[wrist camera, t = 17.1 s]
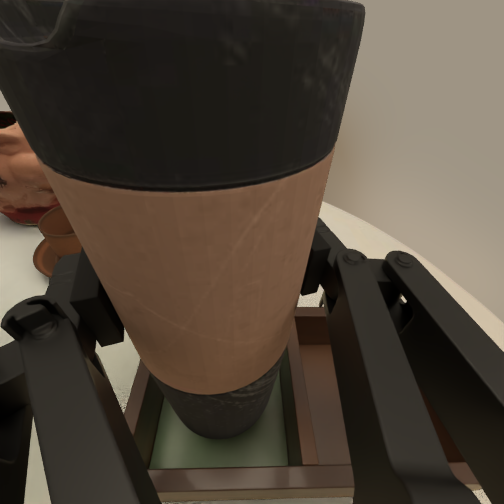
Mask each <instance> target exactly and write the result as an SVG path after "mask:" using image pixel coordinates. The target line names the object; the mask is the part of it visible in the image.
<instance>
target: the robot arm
mask: <svg viewBox="0 0 504 504" xmlns="http://www.w3.org/2000/svg"><path fill="white" fill-rule="evenodd" d="M51 276H52V277H51V278H50V281H49V286H48V288H47V291H46V294H45V295H42V296H34V297H31V298H28V299H25V300H23V301H21V302H20V303H18V304H16V305H15V306H14V307H12V308H11V309H10V310H9V311H8V312H7V313H6V314H5V316H4V317H3V319H2V322H1V328H2V329H4V330H5V331H6V332H7V333H8V334H9V335H10V336H12V337H13V338H14V339H15V340H14V341H12V342H10V343H8V344H6V345H4V346H2V347H0V504H24V496H25V487H26V477H27V468H28V458H29V448H30V439H31V429H32V420H33V417H34V422H35V427H36V432H37V436H38V441H39V446H40V451H41V456H42V461H43V466H44V471H45V475H46V480H47V485H48V490H49V495H50V500H51V504H161V501H160V499H159V496H158V494H157V492H156V489H155V487H154V485H153V482H152V480H151V478H150V475H149V473H148V471H147V468H146V466H145V464H144V461H143V459H142V456H141V454H140V452H139V449H138V447H137V445H136V442H135V440H134V438H133V435H132V433H131V431H130V428H129V426H128V424H127V421H126V419H125V417H124V414H123V412H122V409H121V407H120V405H119V402H118V400H117V398H116V395H115V393H114V391H113V388H112V386H111V384H110V381H109V379H108V377H107V374H106V372H105V370H104V367H103V365H102V362H101V360H100V358H99V356H98V355H97V353H96V352H95V348H96V340H97V341H98V343H99V344H100V345H101V347H104V346H108V345H112V344H116V343H120V342H124V325H123V323H122V322H121V320H120V318H119V316H118V314H117V312H116V310H115V308H114V306H113V304H112V302H111V301H110V299H109V297H108V295H107V293H106V291H105V289H104V287H103V285H102V283H101V281H100V279H99V278H98V276H97V274H96V272H95V270H94V268H93V266H92V264H91V262H90V260H89V258H88V256H87V255H86V253H85V251H84V249H83V247H82V248H81V253H76V254H70V255H64V256H62V258H61V259H60V260H59V261H58V262H57V263H56V264H55V266H54V269H53V272H52V275H51ZM319 284H320V285H321V286H322V288H323V289H324V292H323V294H322V297H321V300H320V303H319V308H321V307H322V305H323V304H324V309H325V315H326V321H327V327H328V332H329V338H330V344H331V350H332V355H333V361H334V367H335V373H336V378H337V384H338V390H339V396H340V402H341V407H342V413H343V419H344V425H345V430H346V436H347V442H348V448H349V453H350V459H351V465H352V471H353V476H354V487H355V489H354V496H353V504H481V503H480V501H479V500H478V498H477V497H476V496H475V494H474V493H473V492H472V491H471V489H470V488H468V487H467V486H466V485H465V484H463V483H462V482H461V481H460V480H458V479H457V478H456V476H455V475H454V474H453V472H452V470H451V468H450V466H449V464H448V461H447V459H446V456H445V454H444V451H443V449H442V446H441V444H440V441H439V438H438V436H437V433H436V431H435V428H434V426H433V423H432V421H431V418H430V415H429V413H428V410H427V408H426V405H425V403H424V400H423V398H422V395H421V393H420V390H419V387H420V388H421V390H422V392H423V393H424V395H425V396H426V398H427V400H428V401H429V403H430V405H431V406H432V408H433V409H434V411H435V413H436V414H437V416H438V418H439V419H440V421H441V422H442V424H443V426H444V427H445V429H446V430H447V432H448V434H449V435H450V437H451V439H452V440H453V442H454V443H455V445H456V447H457V448H458V450H459V452H460V453H461V455H462V456H463V458H464V460H465V461H466V463H467V464H468V466H469V468H470V469H471V471H472V473H473V474H474V476H475V477H476V479H477V481H478V482H479V484H480V486H481V487H482V489H483V490H484V492H485V494H486V495H487V497H488V498H489V500H490V502H491V503H492V504H504V352H503V351H502V350H501V349H500V348H499V347H498V346H497V345H496V344H495V342H494V341H493V340H492V339H491V338H490V337H489V336H488V335H487V334H486V333H485V332H484V331H483V330H482V328H481V327H480V326H479V325H478V324H477V323H476V322H475V321H474V320H473V319H472V318H471V317H470V316H469V315H468V313H467V312H466V311H465V310H464V309H463V308H462V307H461V306H460V305H459V304H458V303H457V302H456V301H455V299H454V298H453V297H452V296H451V295H450V294H449V293H448V292H447V291H446V290H445V289H444V288H443V287H442V285H441V284H440V283H439V282H438V281H437V280H436V279H435V278H434V277H433V276H432V275H431V274H430V273H429V271H428V270H427V269H426V268H425V267H424V266H423V265H422V264H421V263H420V262H419V261H418V260H417V259H416V258H415V257H414V256H412V255H410V254H408V253H406V252H402V251H392V252H389V253H388V254H387V256H386V258H385V259H367V257H366V256H365V255H364V254H362V253H361V252H359V251H357V250H353V249H347V248H346V247H345V246H344V245H343V243H342V242H341V241H340V240H339V239H338V238H337V237H336V236H335V234H334V233H333V232H332V231H330V229H329V228H328V227H327V226H326V224H325V223H324V222H323V221H322V220H321V219H320V218H318V220H317V224H316V229H315V233H314V237H313V241H312V245H311V249H310V254H309V258H308V262H307V266H306V270H305V274H304V279H303V283H302V287H301V291H300V293H301V295H302V296H304V295H308V294H312V293H316V292H317V290H318V287H319ZM402 295H403V296H404V298H405V299H406V300H407V302H406V303H404V302H403V301H402V299H401V297H402ZM417 383H418V385H419V387H418V385H417Z"/></svg>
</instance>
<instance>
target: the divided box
mask: <svg viewBox="0 0 504 504" xmlns="http://www.w3.org/2000/svg"><path fill="white" fill-rule="evenodd" d="M417 385H418V383H417ZM418 387H419V385H418ZM419 390H420V393H421V395H422V398H423V400H424V403H425V405H426V408H427V410H428V413H429V415H430V418H431V421H432V423H433V426H434V428H435V431H436V433H437V436H438V438H439V441H440V444H441V446H442V449H443V451H444V454H445V456H446V459H447V461H448V464H449V466H450V468H451V470H452V472H453V474H454V475H455V476H456V478H457V479H458V480H460V481H461V482H462V483H463V484H465V485H466V486H467V487H468V488H470V489H471V491H475V490H480V489H482V487H481V486H480V484H479V482H478V481H477V479H476V477H475V476H474V474H473V473H472V471H471V469H470V468H469V466H468V464H467V463H466V461H465V460H464V458H463V456H462V455H461V453H460V452H459V450H458V448H457V447H456V445H455V443H454V442H453V440H452V439H451V437H450V435H449V434H448V432H447V430H446V429H445V427H444V426H443V424H442V422H441V421H440V419H439V418H438V416H437V414H436V413H435V411H434V409H433V408H432V406H431V405H430V403H429V401H428V400H427V398H426V396H425V395H424V393H423V392H422V390H421V388H420V387H419ZM124 417H125V419H126V421H127V424H128V426H129V428H130V431H131V433H132V435H133V438H134V440H135V442H136V445H137V447H138V449H139V452H140V454H141V456H142V459H143V461H144V464H145V466H146V468H147V471H148V473H149V475H150V478H151V480H152V482H153V485H154V487H155V489H156V492H157V494H158V496H159V499H160V501H161V502H180V501H216V500H251V499H286V498H322V497H353V496H354V489H355V487H354V476H353V471H352V465H351V459H350V453H349V448H348V442H347V436H346V430H345V425H344V419H343V413H342V407H341V402H340V396H339V390H338V384H337V378H336V373H335V367H334V361H333V355H332V350H331V344H330V338H329V332H328V327H327V321H326V315H325V309H324V307H321V308H319V307H297V308H296V312H295V316H294V320H293V324H292V329H291V333H290V337H289V340H288V343H287V346H286V349H285V353H284V356H283V359H282V362H281V365H280V368H279V371H278V374H277V377H276V380H275V383H274V386H273V390H272V393H271V395H270V398H269V401H268V404H267V406H266V408H265V410H264V412H263V413H262V415H261V416H260V418H259V419H258V420H257V421H256V423H255V424H254V425H253V426H251V427H250V428H249V429H248V430H246V431H245V432H243V433H242V434H239V435H237V436H235V437H232V438H228V439H221V440H219V439H209V438H204V437H202V436H199V435H197V434H195V433H194V432H192V431H191V430H190V429H188V428H187V427H186V426H185V425H184V424H183V422H182V421H181V420H180V419H179V417H178V416H177V414H176V413H175V411H174V410H173V408H172V407H171V405H170V404H169V402H168V400H167V399H166V397H165V396H164V394H163V393H162V391H161V390H160V388H159V386H158V385H157V383H156V382H155V380H154V379H153V377H152V376H151V374H150V372H149V371H148V369H147V368H146V366H145V365H144V363H143V361H142V360H141V359H140V363H139V366H138V369H137V373H136V376H135V379H134V383H133V386H132V389H131V393H130V396H129V399H128V403H127V406H126V409H125V413H124Z"/></svg>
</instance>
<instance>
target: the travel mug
mask: <svg viewBox="0 0 504 504" xmlns="http://www.w3.org/2000/svg"><path fill="white" fill-rule="evenodd" d="M364 18H365V7H364V6H363V5H362V4H360V3H357V2H353V1H348V0H0V90H1V92H2V94H3V96H4V98H5V100H6V101H7V103H8V105H9V107H10V109H11V111H12V113H13V115H14V117H15V119H16V121H17V122H18V124H19V126H20V128H21V130H22V132H23V134H24V136H25V138H26V140H27V142H28V143H29V145H30V147H31V149H32V150H33V151H34V153H35V156H36V159H37V161H38V163H39V164H40V166H41V168H42V170H43V172H44V174H45V176H46V178H47V180H48V182H49V184H50V186H51V187H52V189H53V191H54V193H55V195H56V197H57V199H58V201H59V203H60V205H61V207H62V209H63V210H64V212H65V214H66V216H67V218H68V220H69V222H70V224H71V226H72V228H73V230H74V232H75V233H76V235H77V237H78V239H79V241H80V243H81V245H82V247H83V249H84V251H85V253H86V255H87V256H88V258H89V260H90V262H91V264H92V266H93V268H94V270H95V272H96V274H97V276H98V278H99V279H100V281H101V283H102V285H103V287H104V289H105V291H106V293H107V295H108V297H109V299H110V301H111V302H112V304H113V306H114V308H115V310H116V312H117V314H118V316H119V318H120V320H121V322H122V323H123V325H124V327H125V329H126V331H127V333H128V335H129V337H130V339H131V341H132V343H133V345H134V346H135V348H136V350H137V352H138V354H139V356H140V358H141V360H142V361H143V363H144V365H145V366H146V368H147V369H148V371H149V372H150V374H151V376H152V377H153V379H154V380H155V382H156V383H157V385H158V386H159V388H160V390H161V391H162V393H163V394H164V396H165V397H166V399H167V400H168V402H169V404H170V405H171V407H172V408H173V410H174V411H175V413H176V414H177V416H178V417H179V419H180V420H181V421H182V422H183V424H184V425H185V426H186V427H187V428H188V429H190V430H191V431H192V432H194V433H195V434H197V435H199V436H202V437H204V438H209V439H219V440H221V439H228V438H232V437H235V436H237V435H239V434H242V433H243V432H245V431H246V430H248V429H249V428H250V427H251V426H253V425H254V424H255V423H256V421H257V420H258V419H259V418H260V416H261V415H262V413H263V412H264V410H265V408H266V406H267V404H268V401H269V398H270V395H271V393H272V390H273V386H274V383H275V380H276V377H277V374H278V371H279V368H280V365H281V362H282V359H283V356H284V353H285V349H286V346H287V343H288V340H289V337H290V333H291V329H292V324H293V320H294V316H295V312H296V308H297V304H298V299H299V295H300V291H301V287H302V283H303V279H304V274H305V270H306V266H307V262H308V258H309V254H310V249H311V245H312V241H313V237H314V233H315V229H316V224H317V220H318V216H319V212H320V208H321V204H322V199H323V195H324V191H325V187H326V183H327V179H328V174H329V170H330V166H331V162H332V158H333V154H334V149H335V143H336V141H337V137H338V133H339V129H340V124H341V120H342V116H343V112H344V108H345V104H346V100H347V95H348V91H349V87H350V83H351V79H352V75H353V71H354V66H355V62H356V58H357V54H358V49H359V46H360V41H361V36H362V31H363V26H364Z"/></svg>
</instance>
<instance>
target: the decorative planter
mask: <svg viewBox="0 0 504 504" xmlns="http://www.w3.org/2000/svg"><path fill="white" fill-rule="evenodd" d="M57 206H60V203H59V201H58V199H57V197H56V195H55V193H54V191H53V189H52V187H51V186H50V184H49V182H48V180H47V178H46V176H45V174H44V172H43V170H42V168H41V166H40V164H39V163H38V161H37V159H36V156H35V153H34V151H33V150H32V149H31V147H30V145H29V143H28V142H27V140H26V138H25V136H24V134H23V132H22V130H21V128H20V126H19V124H18V122H17V121H16V119H15V117H14V115H13V113H12V112H11V111H0V212H1V213H3V214H4V215H6V216H7V217H8V218H9V219H10V220H12V221H14V222H16V223H20V224H25V225H38V222H39V220H40V218H41V217H42V216H43V215H44V214H45V213H47V212H48V211H49V210H51V209H53V208H55V207H57Z"/></svg>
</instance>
